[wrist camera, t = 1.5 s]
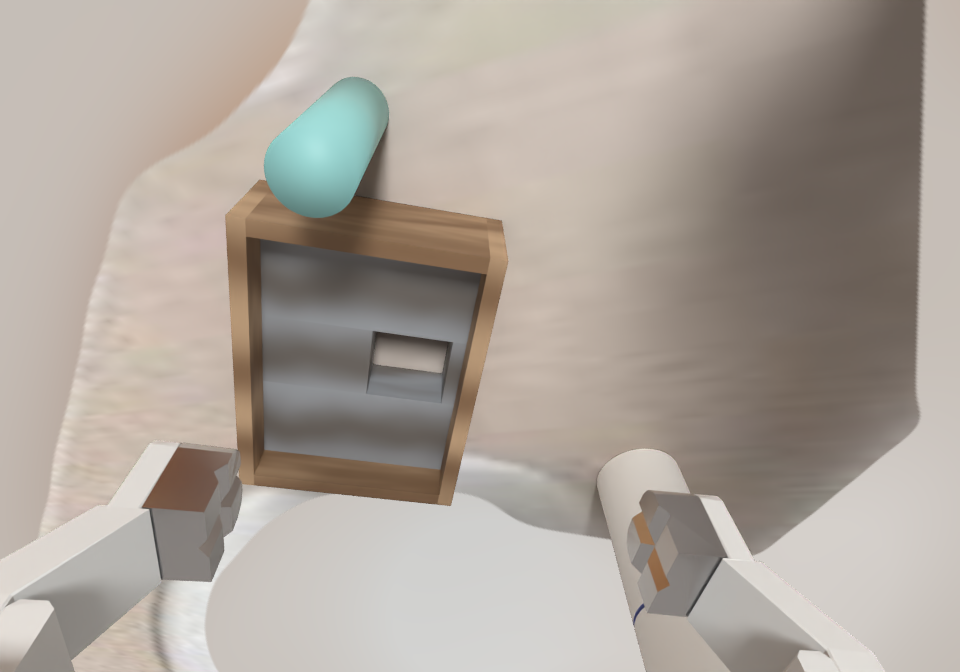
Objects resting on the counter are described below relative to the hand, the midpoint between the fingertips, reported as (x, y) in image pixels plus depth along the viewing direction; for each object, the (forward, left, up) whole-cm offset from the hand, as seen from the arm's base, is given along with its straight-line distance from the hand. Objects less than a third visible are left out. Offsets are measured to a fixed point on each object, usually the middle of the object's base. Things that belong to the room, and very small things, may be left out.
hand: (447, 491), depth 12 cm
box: (+14, -4, -27) cm, 30 cm away
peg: (-1, -6, -27) cm, 27 cm away
